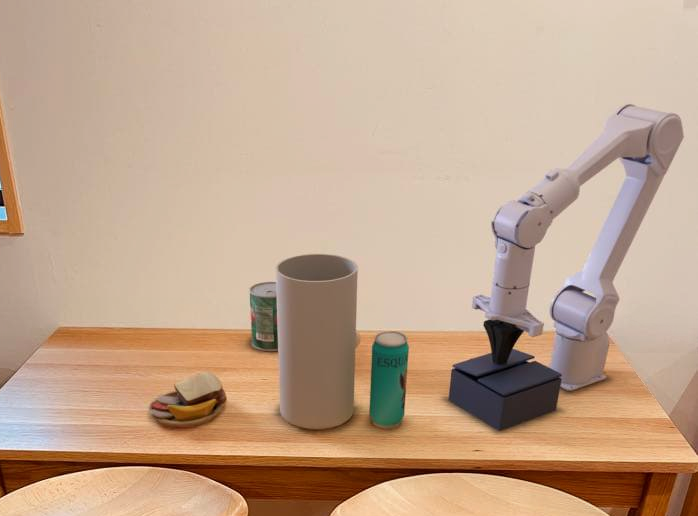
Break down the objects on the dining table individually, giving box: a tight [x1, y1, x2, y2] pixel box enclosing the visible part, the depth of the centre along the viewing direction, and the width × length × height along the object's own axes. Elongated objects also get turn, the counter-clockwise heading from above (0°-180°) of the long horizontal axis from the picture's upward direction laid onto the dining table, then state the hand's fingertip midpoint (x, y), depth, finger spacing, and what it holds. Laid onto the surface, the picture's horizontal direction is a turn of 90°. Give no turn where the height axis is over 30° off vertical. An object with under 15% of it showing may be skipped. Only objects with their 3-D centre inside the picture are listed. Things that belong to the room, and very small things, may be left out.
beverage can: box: [369, 330, 410, 430], centre depth 136 cm, size 6×6×15 cm
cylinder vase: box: [275, 253, 359, 430], centre depth 136 cm, size 12×12×25 cm
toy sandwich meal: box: [147, 371, 227, 428], centre depth 144 cm, size 12×14×5 cm
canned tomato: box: [248, 281, 278, 352], centre depth 164 cm, size 8×8×11 cm
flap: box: [452, 348, 536, 377], centre depth 143 cm, size 6×13×1 cm, turn 121°
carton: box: [447, 360, 562, 432], centre depth 143 cm, size 13×13×7 cm
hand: (499, 362), depth 142 cm, fingers closed
